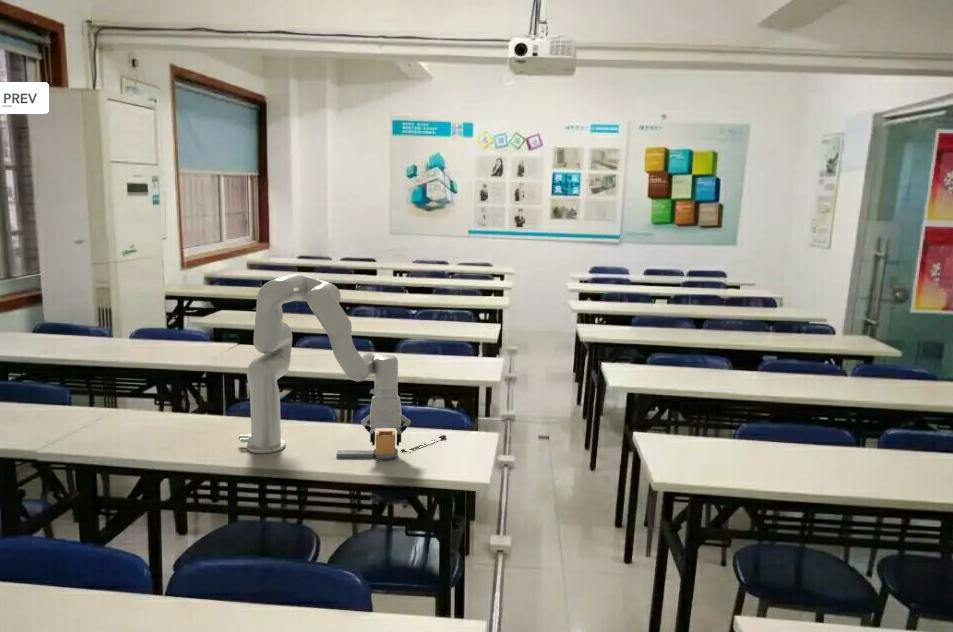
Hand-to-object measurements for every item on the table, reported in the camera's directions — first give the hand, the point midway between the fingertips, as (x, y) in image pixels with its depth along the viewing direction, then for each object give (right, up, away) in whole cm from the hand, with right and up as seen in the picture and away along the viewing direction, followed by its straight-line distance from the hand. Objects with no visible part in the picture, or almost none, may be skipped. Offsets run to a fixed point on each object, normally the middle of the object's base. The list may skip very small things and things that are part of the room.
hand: (385, 444), depth 222 cm
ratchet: (-6, -4, 0) cm, 7 cm away
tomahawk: (+13, -3, +11) cm, 18 cm away
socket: (0, -2, 0) cm, 2 cm away
